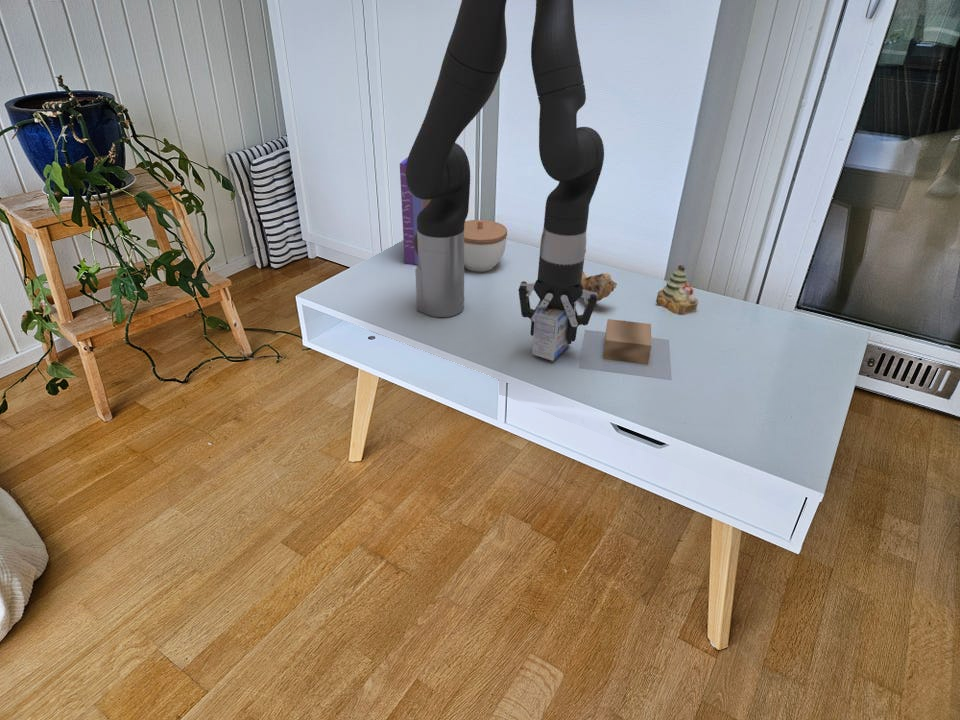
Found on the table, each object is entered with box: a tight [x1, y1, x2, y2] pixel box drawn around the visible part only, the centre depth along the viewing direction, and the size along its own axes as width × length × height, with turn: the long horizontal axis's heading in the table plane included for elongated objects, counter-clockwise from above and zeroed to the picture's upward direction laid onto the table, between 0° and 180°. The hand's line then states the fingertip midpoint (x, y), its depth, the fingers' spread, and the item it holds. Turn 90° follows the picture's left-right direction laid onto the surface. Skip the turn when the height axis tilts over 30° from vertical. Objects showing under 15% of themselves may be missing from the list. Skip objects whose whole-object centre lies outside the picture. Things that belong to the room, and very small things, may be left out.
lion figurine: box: [581, 271, 618, 308], centre depth 133 cm, size 15×5×9 cm, turn 35°
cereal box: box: [399, 156, 431, 267], centre depth 152 cm, size 17×5×24 cm, turn 167°
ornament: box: [655, 264, 699, 316], centre depth 131 cm, size 8×6×10 cm
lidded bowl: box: [464, 219, 508, 273], centre depth 149 cm, size 13×13×11 cm
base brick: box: [603, 318, 652, 365], centre depth 117 cm, size 8×8×4 cm
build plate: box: [578, 329, 673, 381], centre depth 117 cm, size 16×14×1 cm
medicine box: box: [531, 302, 577, 362], centre depth 114 cm, size 8×4×9 cm, turn 148°
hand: (552, 339), depth 116 cm, fingers closed on medicine box, 5 cm apart
